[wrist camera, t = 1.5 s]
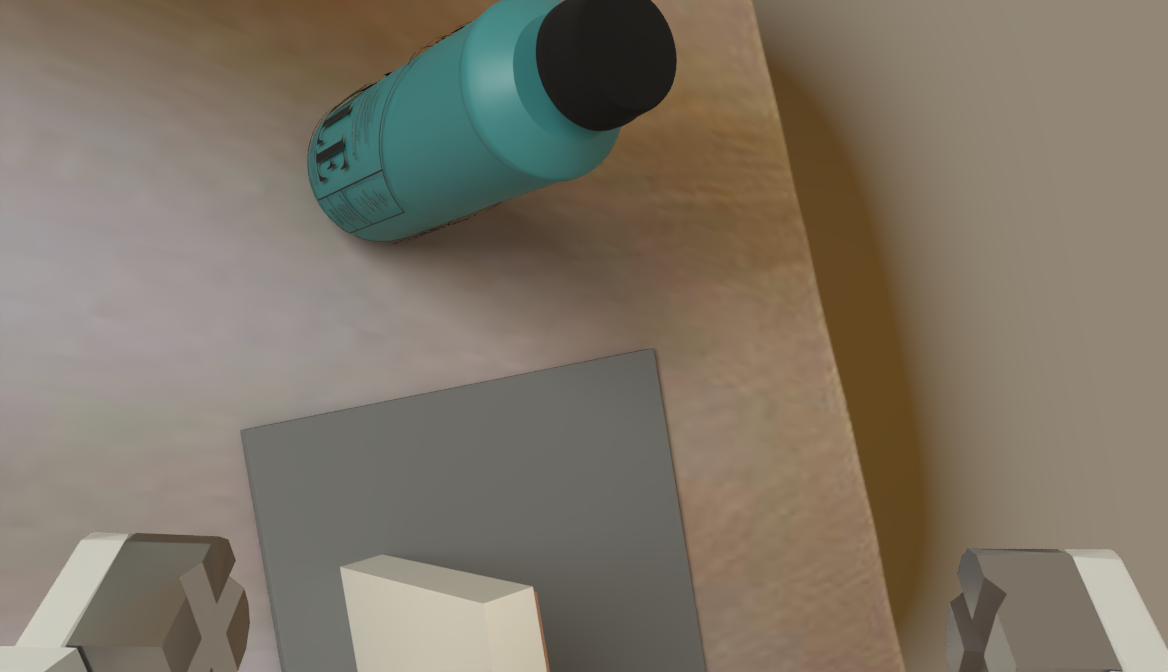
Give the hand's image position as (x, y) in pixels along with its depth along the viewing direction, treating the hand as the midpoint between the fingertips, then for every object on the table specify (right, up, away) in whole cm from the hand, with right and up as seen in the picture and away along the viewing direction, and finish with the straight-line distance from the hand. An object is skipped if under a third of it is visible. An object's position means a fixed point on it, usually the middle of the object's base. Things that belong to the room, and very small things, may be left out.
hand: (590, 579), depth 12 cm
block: (-9, -11, +34) cm, 37 cm away
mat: (-4, -10, +38) cm, 40 cm away
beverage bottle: (-10, +10, +35) cm, 38 cm away
